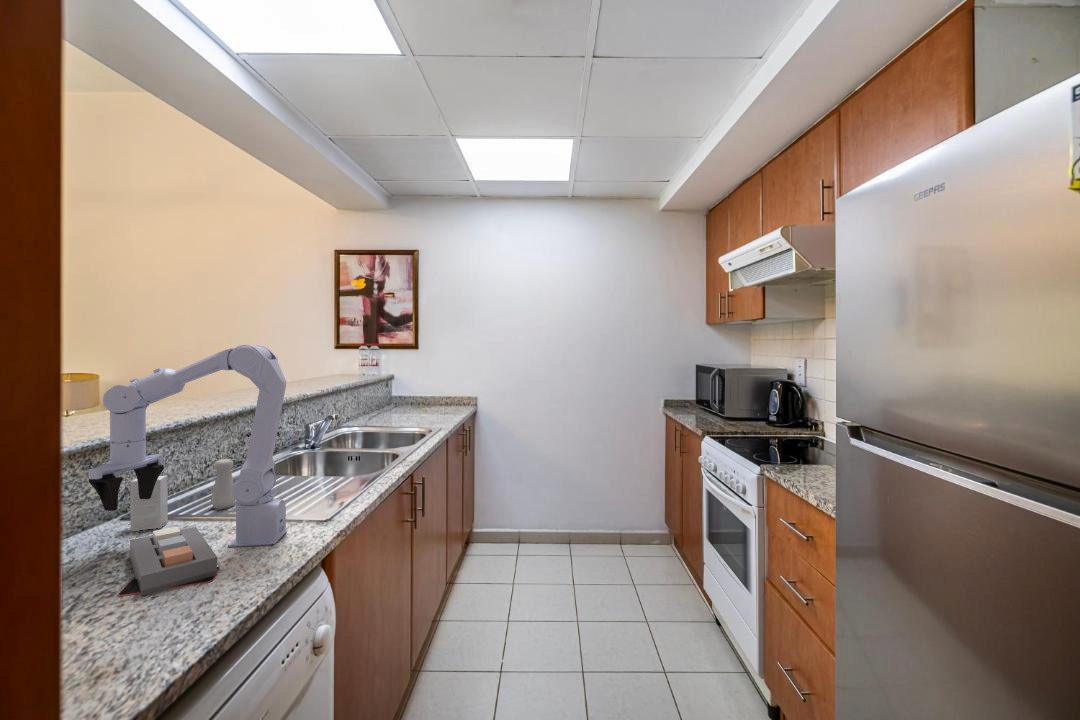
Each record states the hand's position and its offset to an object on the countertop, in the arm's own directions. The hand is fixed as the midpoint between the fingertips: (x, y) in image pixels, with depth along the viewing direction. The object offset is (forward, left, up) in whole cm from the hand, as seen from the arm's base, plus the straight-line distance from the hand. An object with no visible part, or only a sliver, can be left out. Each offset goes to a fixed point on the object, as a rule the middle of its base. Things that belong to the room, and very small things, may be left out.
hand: (128, 504), depth 99 cm
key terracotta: (-18, +16, -7) cm, 25 cm away
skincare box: (+4, -14, -10) cm, 17 cm away
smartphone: (-17, +17, -10) cm, 26 cm away
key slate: (-14, +10, -7) cm, 18 cm away
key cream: (-10, +4, -7) cm, 13 cm away
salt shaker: (-6, -28, -10) cm, 30 cm away
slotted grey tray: (-14, +10, -10) cm, 20 cm away
